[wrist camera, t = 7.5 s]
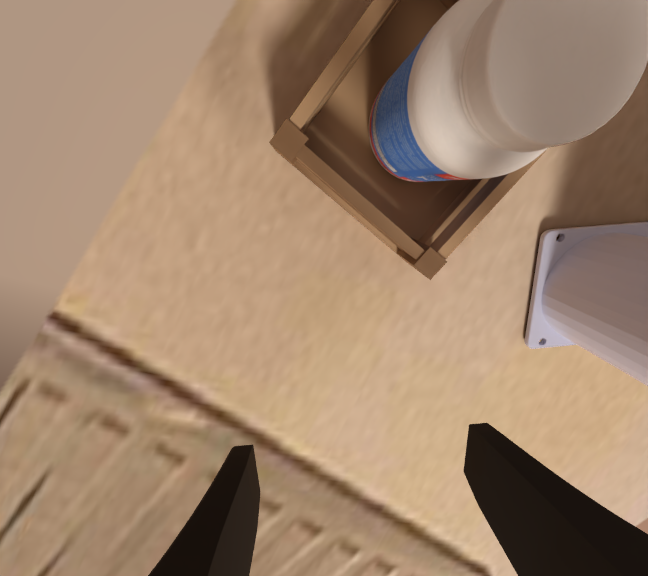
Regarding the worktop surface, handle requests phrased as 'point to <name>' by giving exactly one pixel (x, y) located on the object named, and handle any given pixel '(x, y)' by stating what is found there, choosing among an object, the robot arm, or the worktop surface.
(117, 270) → the worktop surface
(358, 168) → the crate
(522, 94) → the pill bottle
